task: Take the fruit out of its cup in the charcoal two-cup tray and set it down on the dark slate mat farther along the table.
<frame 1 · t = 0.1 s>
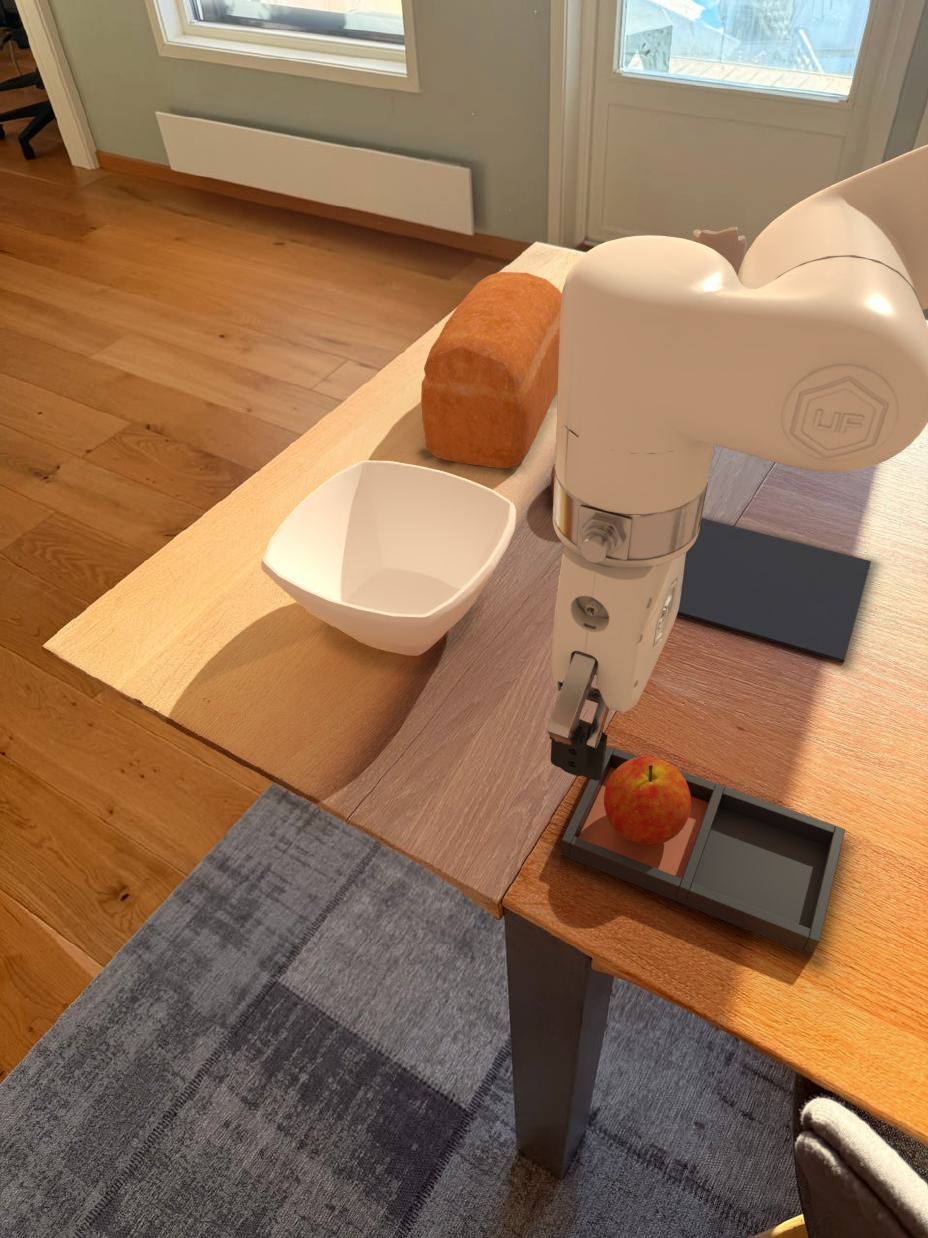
hand: (604, 712, 58), 22 cm above the table, tool pointing down, fingers open, 9 cm apart
mat: (760, 584, 97), on the table
candle: (706, 350, 133), on the table
bread: (499, 413, 123), on the table
tray: (699, 849, 75), on the table
fruit: (642, 825, 76), resting on tray
bread roll: (590, 499, 109), on the table
bowl: (401, 617, 96), on the table
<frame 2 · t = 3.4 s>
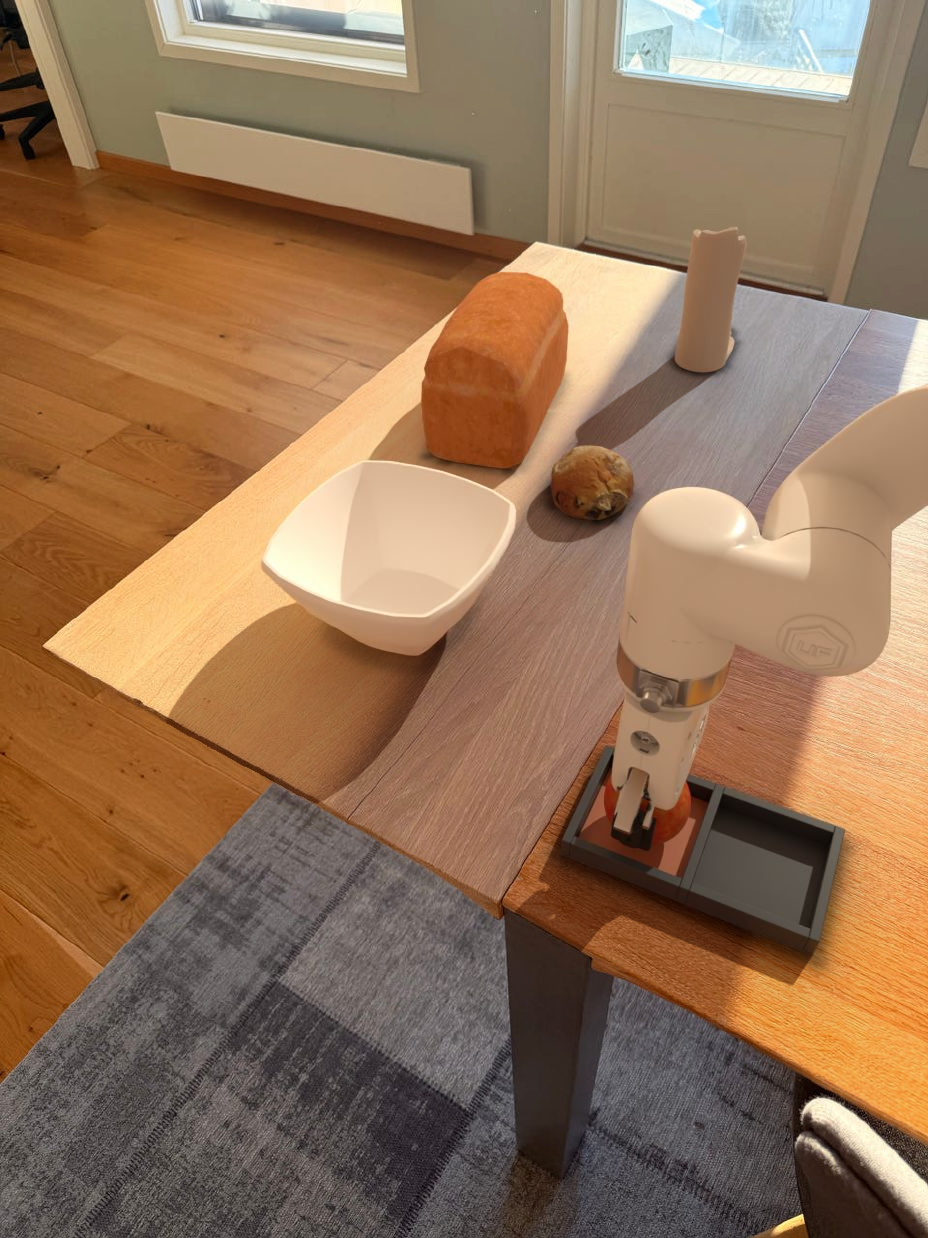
hand: (646, 803, 74), 4 cm above the table, tool pointing down, fingers closed on fruit, 7 cm apart
fruit: (642, 825, 76), resting on tray, touching gripper
everything else where it was.
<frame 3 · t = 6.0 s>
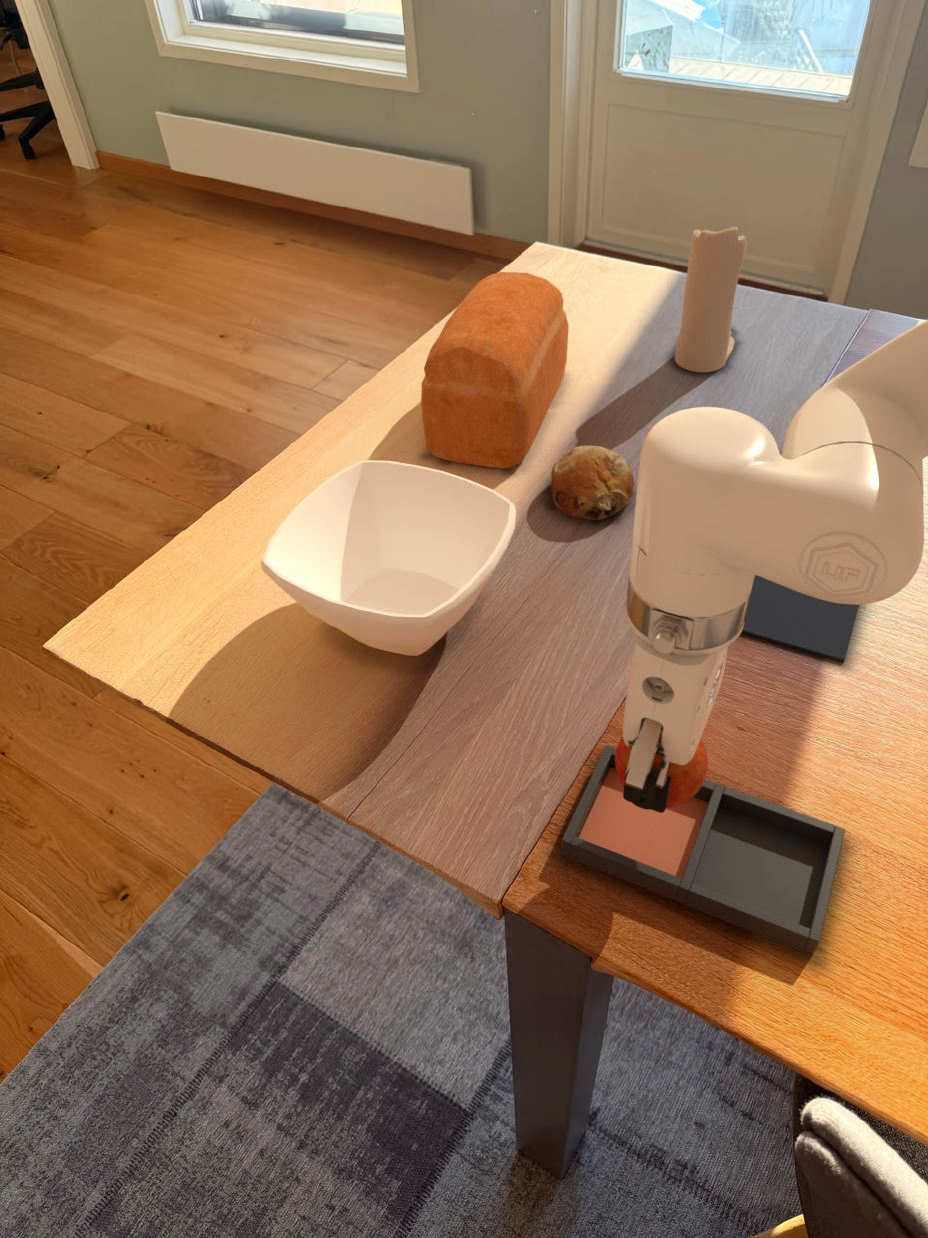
hand: (660, 763, 70), 9 cm above the table, tool pointing down, fingers closed on fruit, 7 cm apart
fruit: (656, 789, 72), point 6 cm above the table, touching gripper
everything else where it was.
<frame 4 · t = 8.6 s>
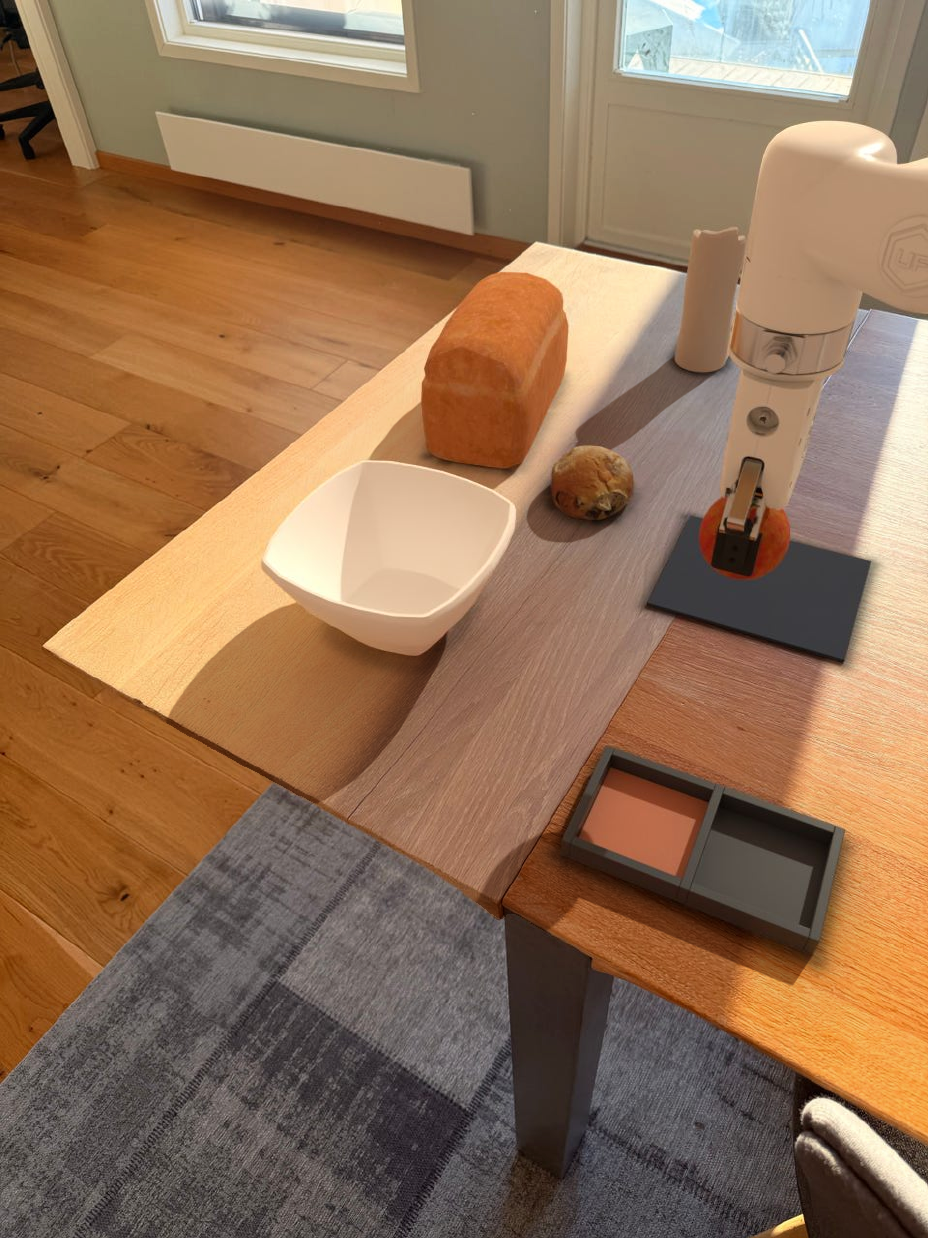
hand: (743, 538, 73), 20 cm above the table, tool pointing down, fingers closed on fruit, 7 cm apart
fruit: (736, 570, 75), point 16 cm above the table, touching gripper
everything else where it was.
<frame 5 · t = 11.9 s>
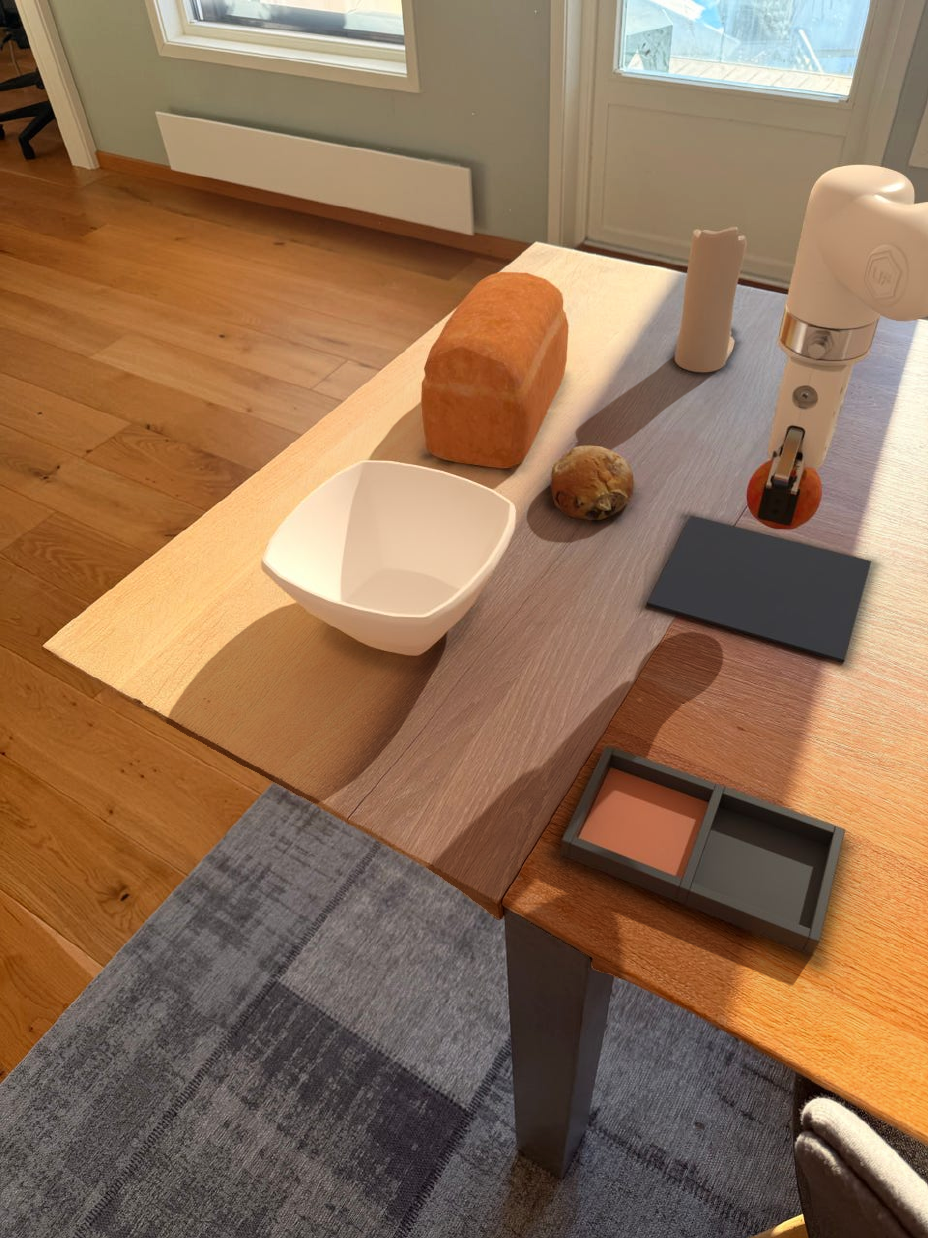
hand: (783, 496, 89), 12 cm above the table, tool pointing down, fingers closed on fruit, 7 cm apart
fruit: (776, 523, 91), point 8 cm above the table, touching gripper
everything else where it was.
when the fingers open (4 cm above the table, at t = 14.3 s): fruit stays where it is, resting on mat.
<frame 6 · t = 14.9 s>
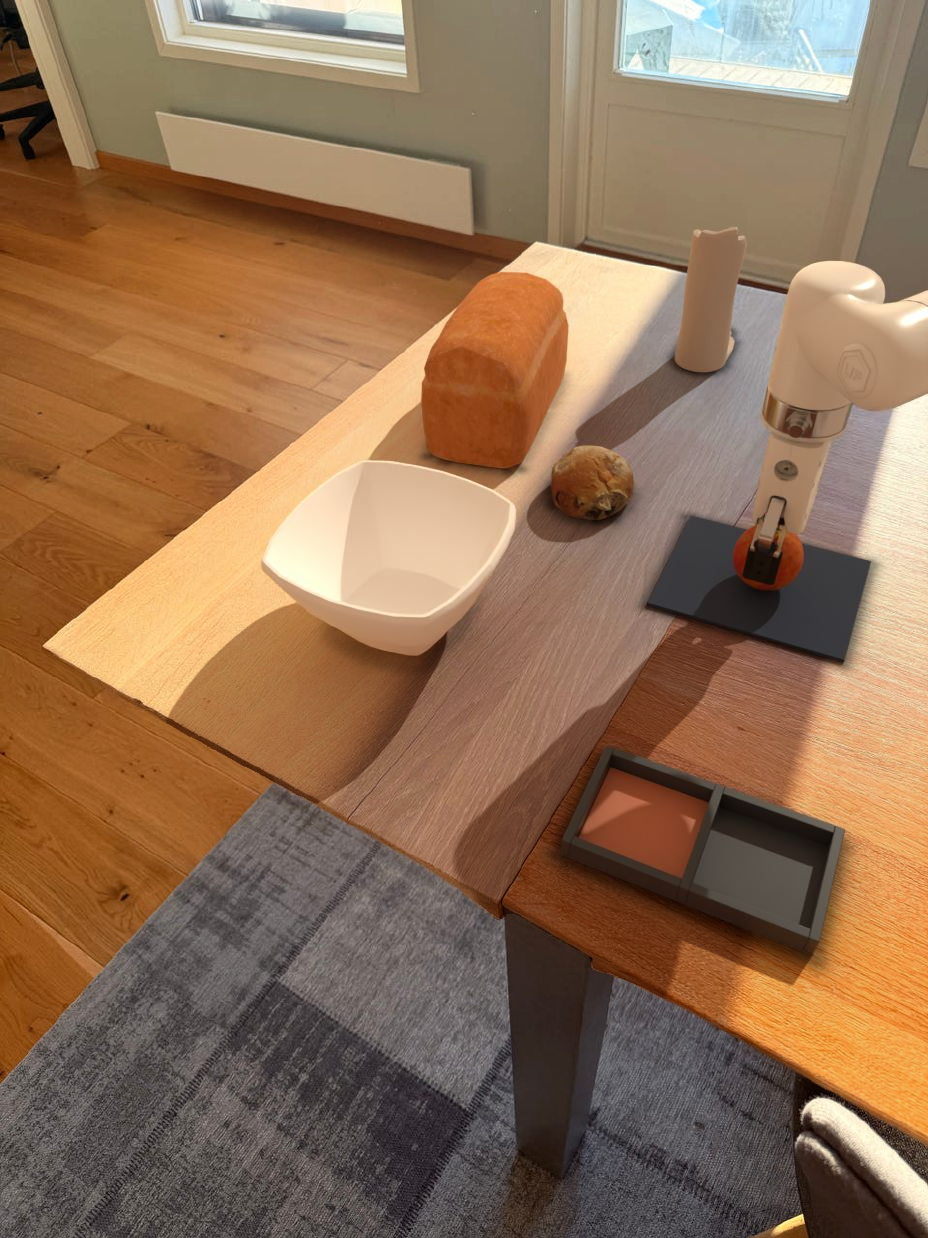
hand: (769, 550, 94), 5 cm above the table, tool pointing down, fingers open, 9 cm apart
fruit: (761, 583, 97), resting on mat
everything else where it was.
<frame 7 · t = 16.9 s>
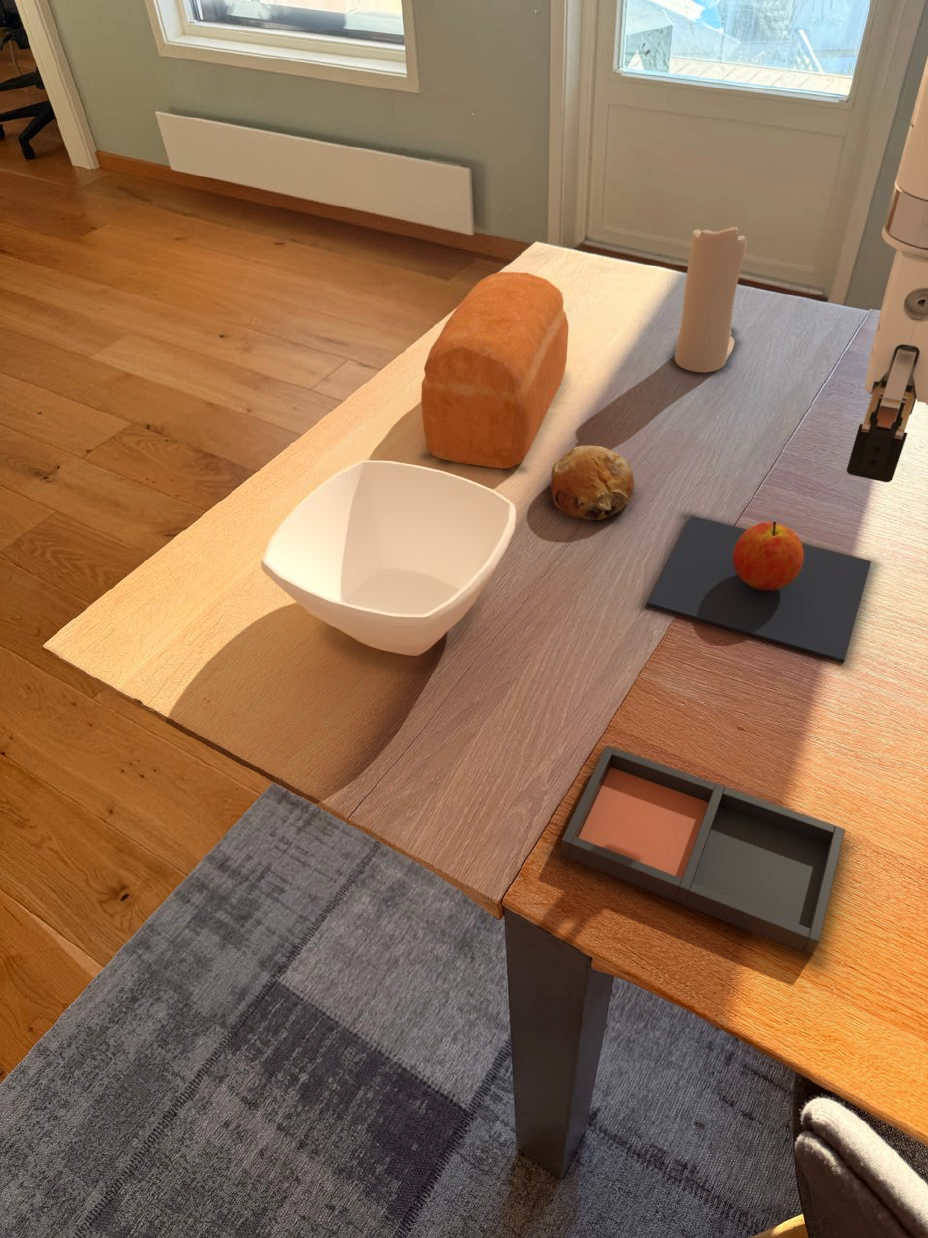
hand: (879, 442, 70), 26 cm above the table, tool pointing down, fingers open, 9 cm apart
nothing on the table moved.
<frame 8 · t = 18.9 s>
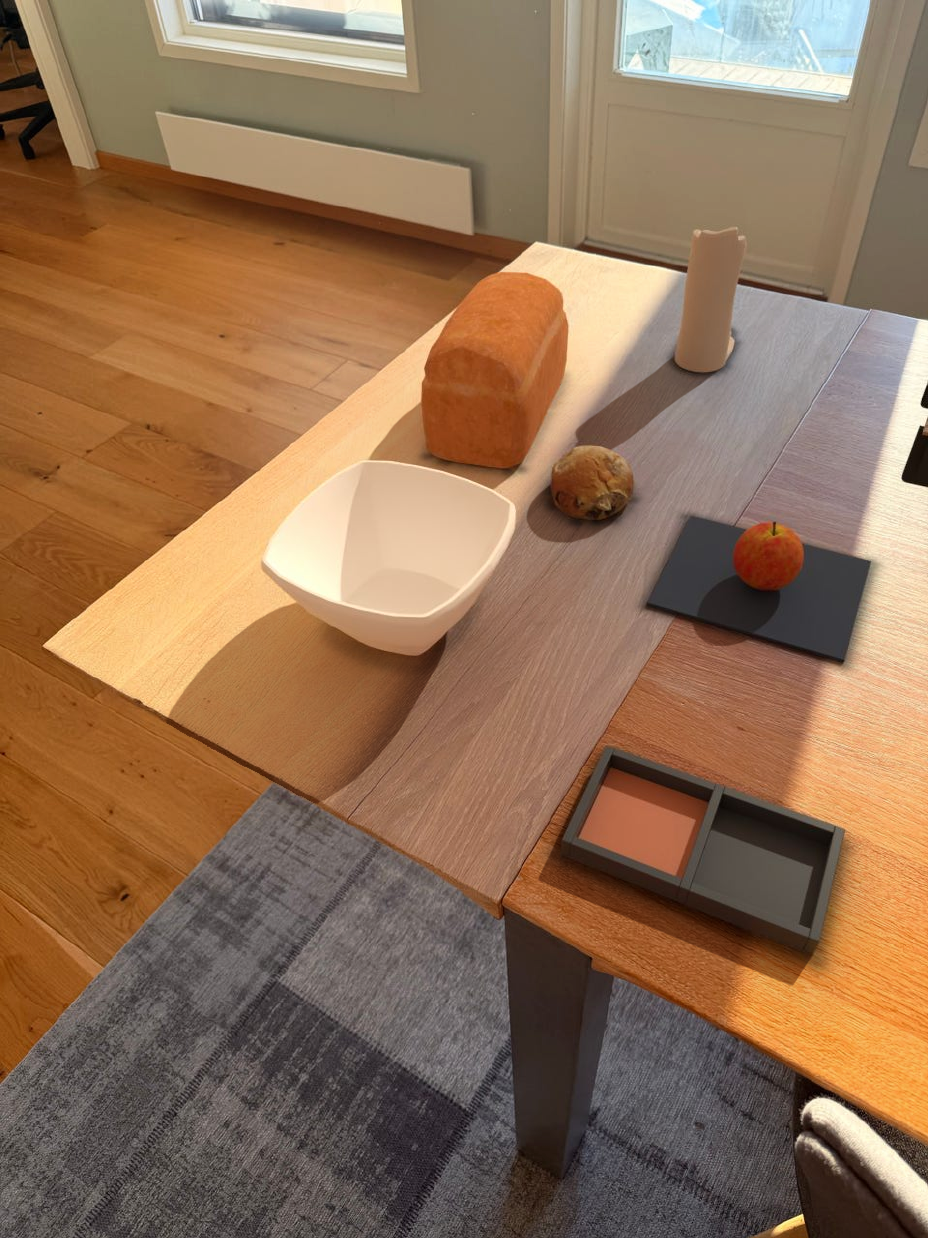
nothing on the table moved.
at the end: fruit inside the target area on the mat (0.1 cm from its centre), point 0.2 cm above the mat's base; fruit touching mat; the gripper is holding nothing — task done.
